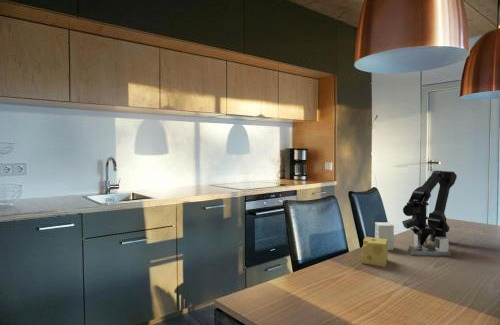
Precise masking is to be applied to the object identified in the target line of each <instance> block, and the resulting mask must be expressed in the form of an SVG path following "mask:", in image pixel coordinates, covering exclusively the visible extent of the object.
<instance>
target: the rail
mask: <svg viewBox="0 0 500 325" xmlns="http://www.w3.org/2000/svg"><path fill="white" fill-rule="evenodd" d="M433 243H434V244H433V246H434V248H428V247H427V246H426V245H425V246H422V247H421V248H414V247H413V246H411V245H408V248H407V254H409V255H410V256H425V257H426V256H435V257H437V256H438V257H439V256H440V257H451V251H449V238H447V237H446V238H445V237H435V238H434V242H433Z"/></svg>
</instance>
